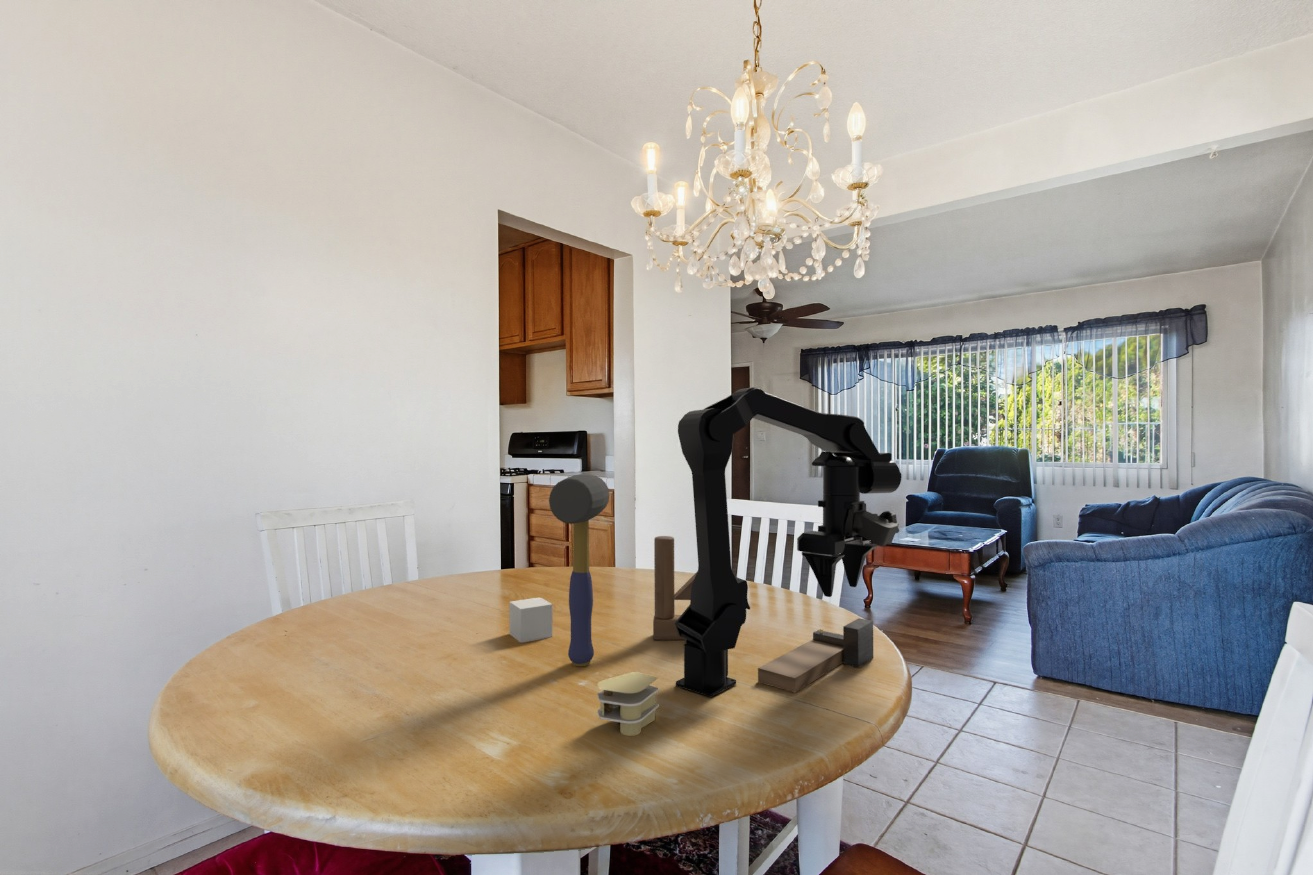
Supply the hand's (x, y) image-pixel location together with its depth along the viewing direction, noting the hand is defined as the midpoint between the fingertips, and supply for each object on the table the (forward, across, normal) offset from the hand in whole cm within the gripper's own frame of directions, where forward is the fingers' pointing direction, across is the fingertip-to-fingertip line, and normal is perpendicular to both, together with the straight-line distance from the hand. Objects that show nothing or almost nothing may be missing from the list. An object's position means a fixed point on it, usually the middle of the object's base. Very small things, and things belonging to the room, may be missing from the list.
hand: (841, 591), depth 98 cm
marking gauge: (+11, +1, +1) cm, 11 cm away
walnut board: (+11, -6, +2) cm, 12 cm away
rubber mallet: (+12, -29, +30) cm, 43 cm away
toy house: (+12, -39, +10) cm, 42 cm away
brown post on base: (+11, -8, +26) cm, 30 cm away
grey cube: (+12, -25, +48) cm, 55 cm away
